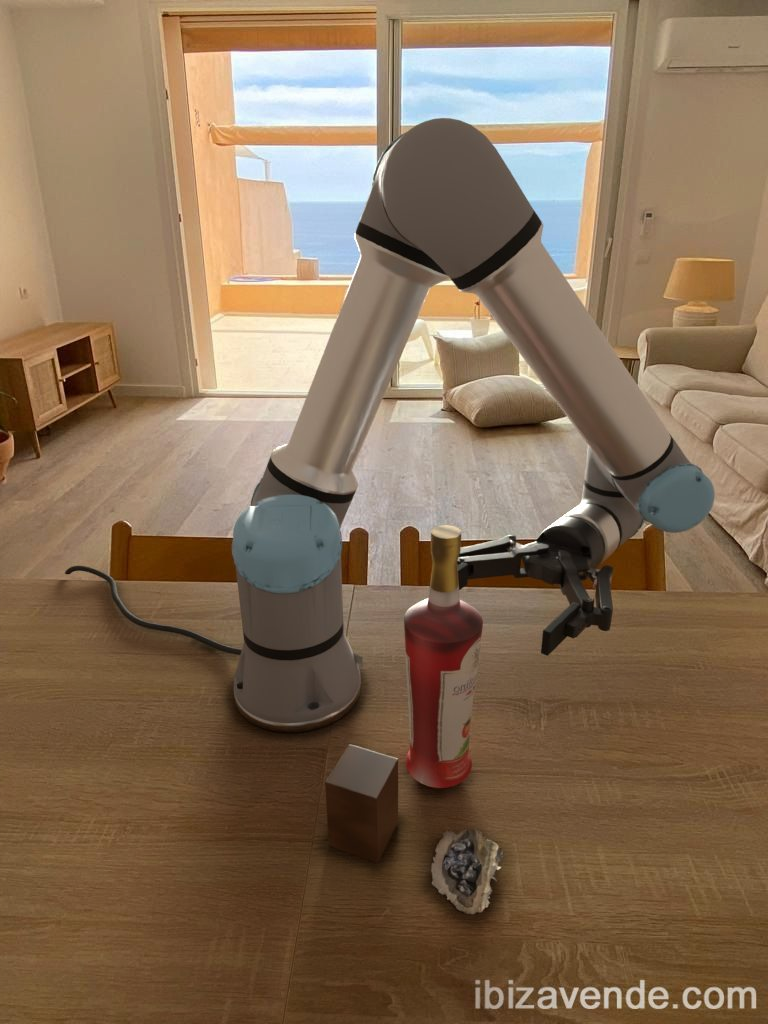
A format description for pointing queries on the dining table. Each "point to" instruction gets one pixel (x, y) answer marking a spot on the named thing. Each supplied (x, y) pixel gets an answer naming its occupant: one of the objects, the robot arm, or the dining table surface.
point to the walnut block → (362, 802)
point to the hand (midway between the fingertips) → (485, 618)
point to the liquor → (441, 670)
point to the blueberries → (466, 869)
